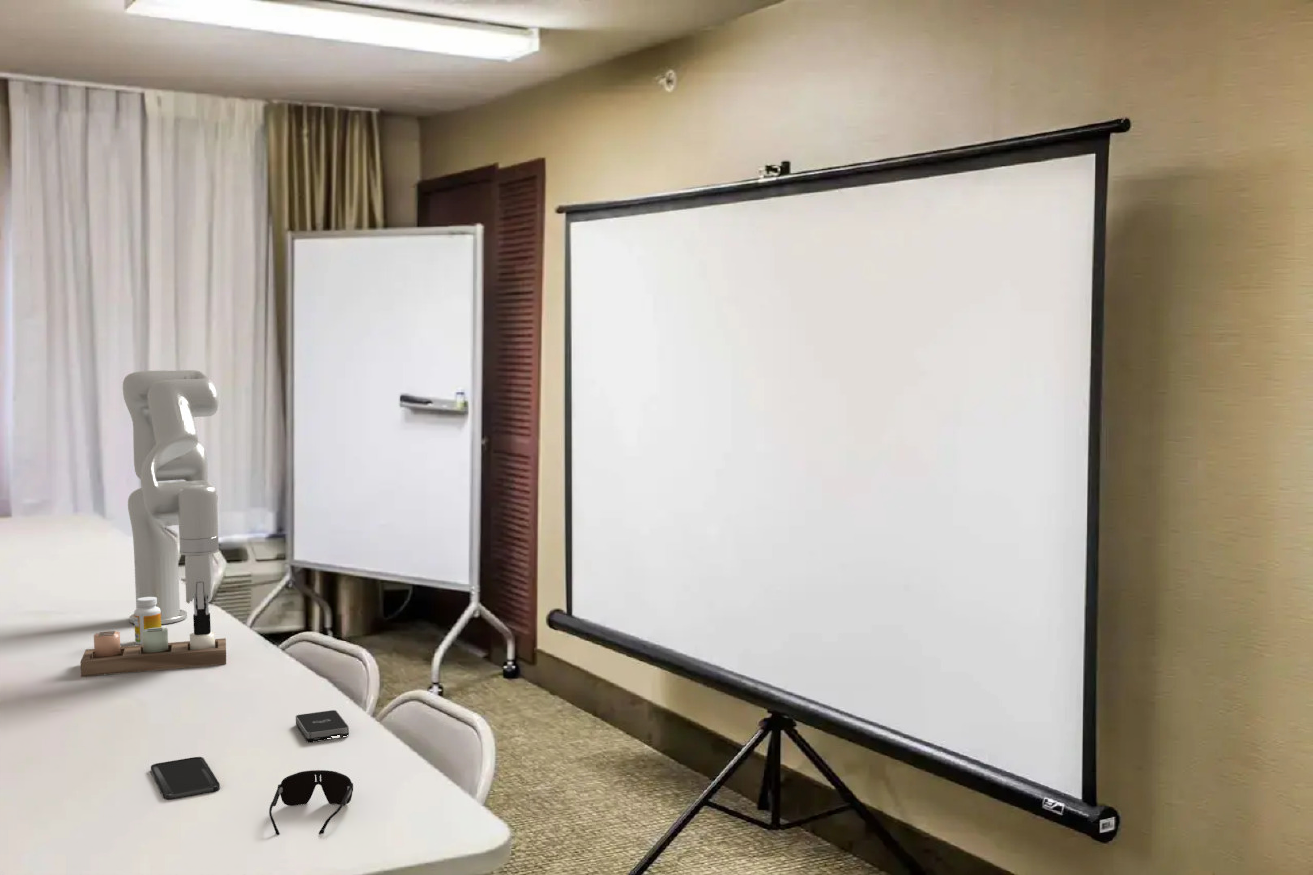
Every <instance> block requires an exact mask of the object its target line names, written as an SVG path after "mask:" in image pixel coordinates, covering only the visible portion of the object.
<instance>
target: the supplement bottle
mask: <svg viewBox="0 0 1313 875" xmlns="http://www.w3.org/2000/svg"><path fill="white" fill-rule="evenodd" d="M156 604H157V598H156V597H142V598H138V599H137V606H139V608H137V609H136V608H135V610H134V613H133V614H134V622H135V624H134V640H135V644H137V645H143V638H142V631H143V630H145V629H149V628H162V624H161V610H160V608H159V607H156Z"/></svg>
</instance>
